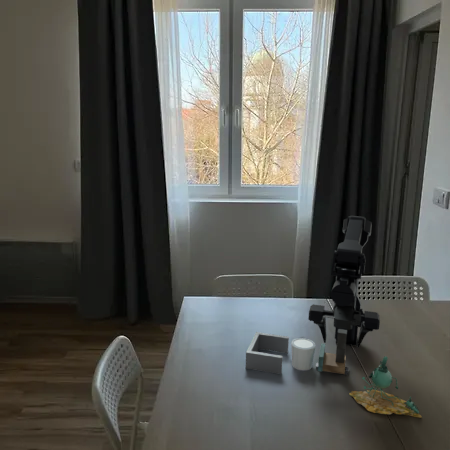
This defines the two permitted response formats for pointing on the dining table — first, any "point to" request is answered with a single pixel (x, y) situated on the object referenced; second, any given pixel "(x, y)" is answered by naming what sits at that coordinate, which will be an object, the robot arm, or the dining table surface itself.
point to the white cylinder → (302, 353)
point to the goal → (263, 359)
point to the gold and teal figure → (383, 395)
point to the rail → (345, 368)
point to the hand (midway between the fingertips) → (341, 344)
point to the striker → (334, 356)
